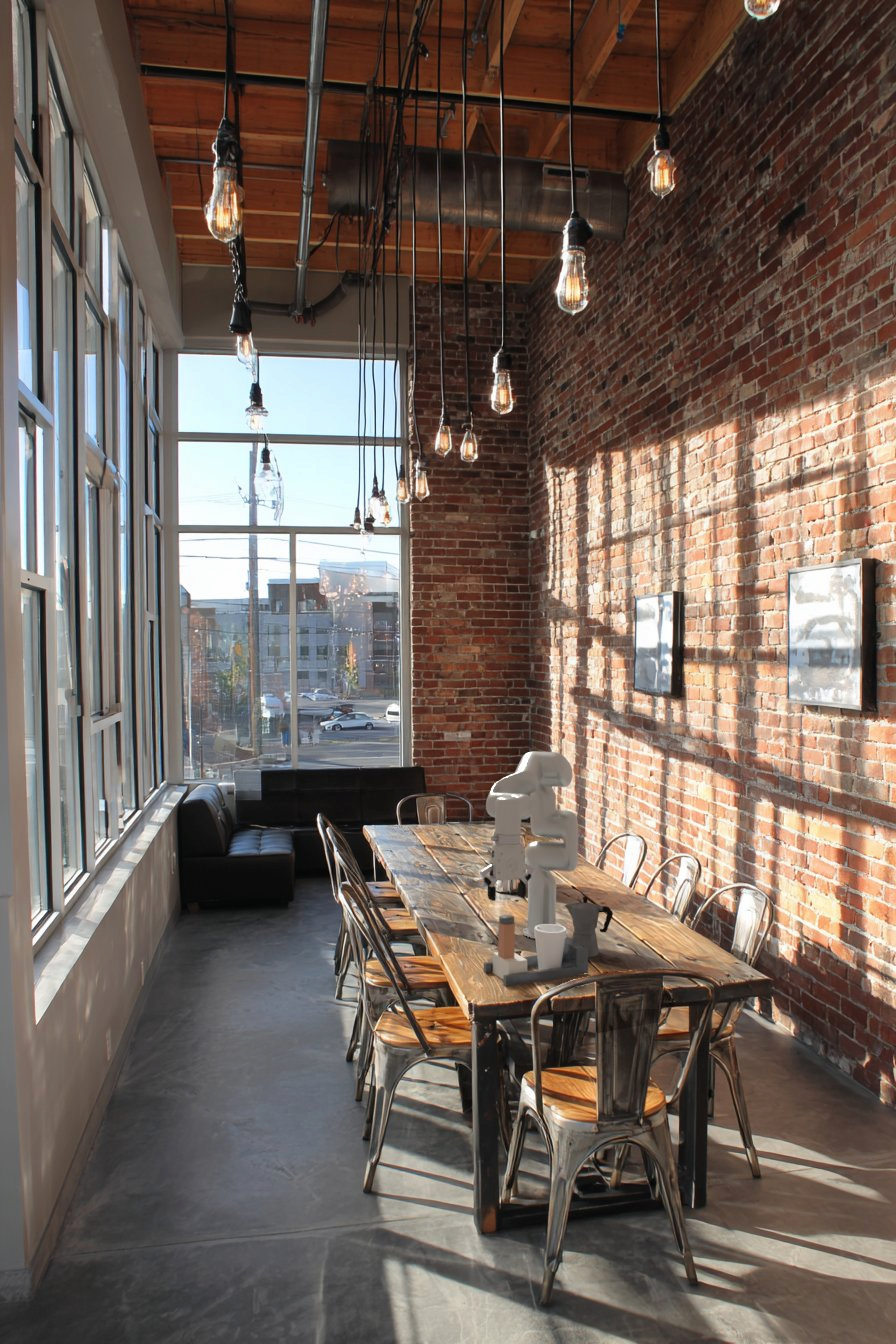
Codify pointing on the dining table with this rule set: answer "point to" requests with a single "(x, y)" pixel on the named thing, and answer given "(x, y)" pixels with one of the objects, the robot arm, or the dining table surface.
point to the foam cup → (549, 945)
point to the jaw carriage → (507, 950)
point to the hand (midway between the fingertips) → (506, 898)
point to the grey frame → (571, 966)
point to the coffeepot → (588, 923)
